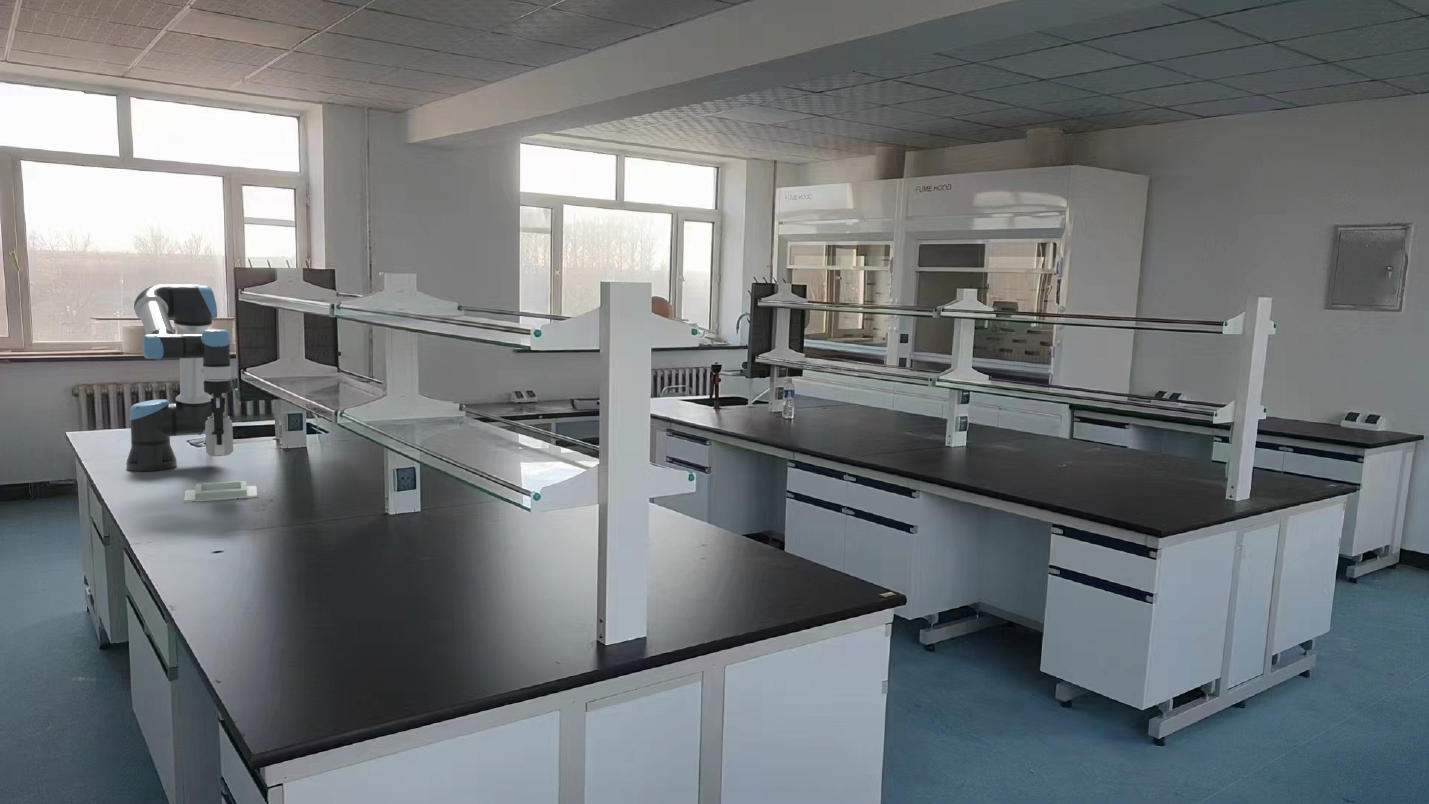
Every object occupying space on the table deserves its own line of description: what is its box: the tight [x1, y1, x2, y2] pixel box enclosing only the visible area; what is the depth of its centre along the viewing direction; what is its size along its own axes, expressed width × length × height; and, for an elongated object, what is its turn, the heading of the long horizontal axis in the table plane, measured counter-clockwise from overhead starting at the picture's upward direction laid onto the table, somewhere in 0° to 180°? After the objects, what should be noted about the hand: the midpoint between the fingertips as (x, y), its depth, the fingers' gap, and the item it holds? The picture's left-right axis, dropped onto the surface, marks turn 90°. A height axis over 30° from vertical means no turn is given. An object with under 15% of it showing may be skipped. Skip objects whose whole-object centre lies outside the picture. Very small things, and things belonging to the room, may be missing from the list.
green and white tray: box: [183, 480, 258, 503], centre depth 293 cm, size 14×20×2 cm
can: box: [205, 415, 234, 457], centre depth 290 cm, size 8×8×12 cm
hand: (219, 452), depth 291 cm, fingers closed on can, 7 cm apart
